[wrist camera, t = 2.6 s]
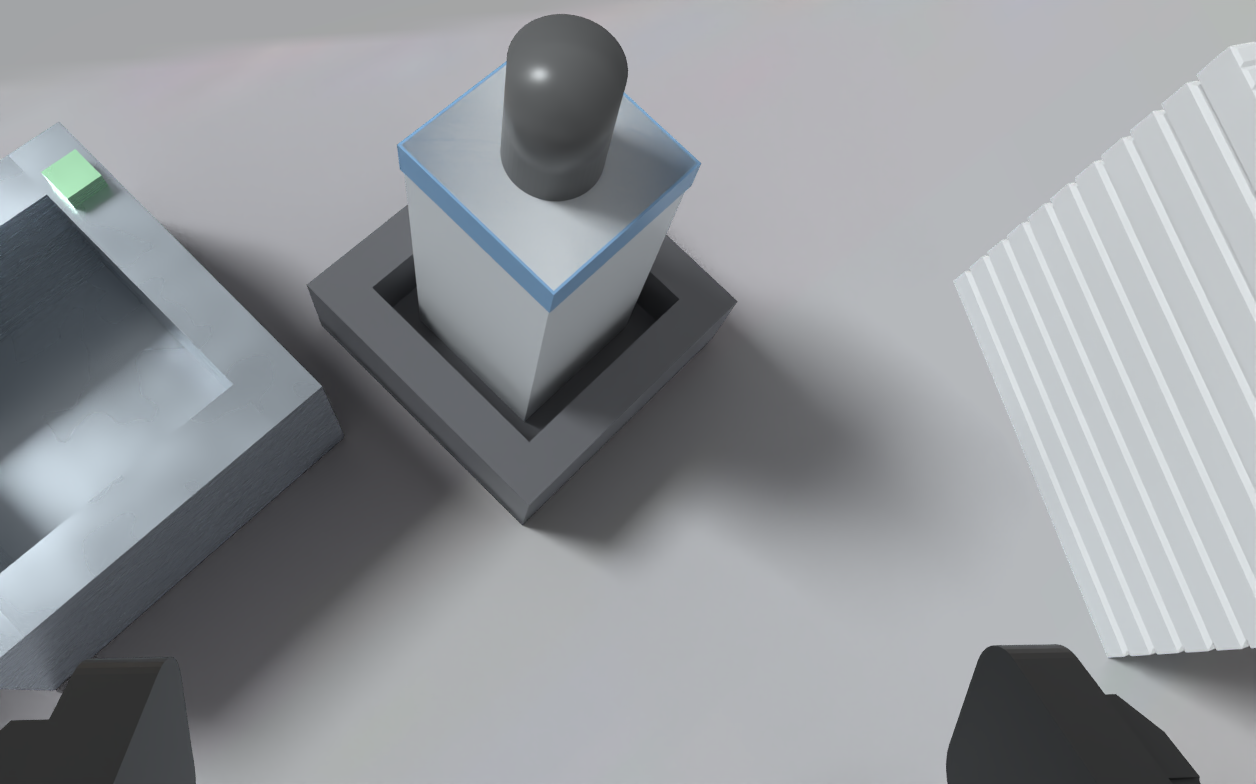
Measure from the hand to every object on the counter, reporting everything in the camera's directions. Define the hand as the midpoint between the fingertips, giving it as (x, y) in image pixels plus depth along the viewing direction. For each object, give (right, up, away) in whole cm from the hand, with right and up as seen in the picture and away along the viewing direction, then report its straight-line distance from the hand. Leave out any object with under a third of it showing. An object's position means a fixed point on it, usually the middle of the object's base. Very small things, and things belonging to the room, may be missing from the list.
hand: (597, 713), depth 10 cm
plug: (-2, +5, +15) cm, 15 cm away
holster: (-2, +5, +15) cm, 16 cm away
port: (-12, +2, +13) cm, 18 cm away
